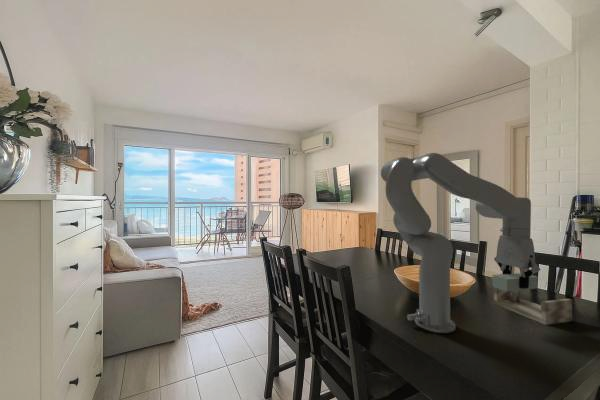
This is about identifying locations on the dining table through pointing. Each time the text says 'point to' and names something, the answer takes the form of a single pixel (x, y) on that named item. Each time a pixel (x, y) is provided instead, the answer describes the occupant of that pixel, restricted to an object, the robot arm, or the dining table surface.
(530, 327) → the dining table surface
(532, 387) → the dining table surface
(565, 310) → the shelf frame
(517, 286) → the grey-green rectangular block
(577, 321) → the dining table surface
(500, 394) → the dining table surface
